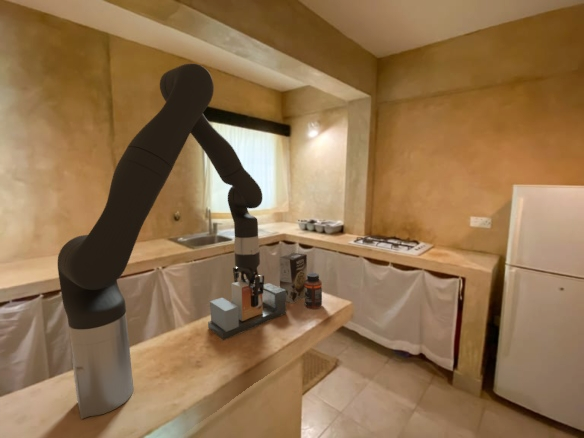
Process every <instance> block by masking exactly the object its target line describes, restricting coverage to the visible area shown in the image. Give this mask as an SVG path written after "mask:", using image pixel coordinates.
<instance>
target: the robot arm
mask: <svg viewBox="0 0 584 438" xmlns="http://www.w3.org/2000/svg"><path fill="white" fill-rule="evenodd" d="M159 90H160V94H161V96H162V98H163V100H164V101H165V103H164V105H163V106H162V108H161V109H159V111H158V112H157V114H156V115H155V116H154V117H153V118H151V120H150V121H148V123H146V124H145V125H144V126H143V128H142V129H140V130H139V132H138V133H136V135H135V136H134V137H133V138H132V140H130V142H129V144H128V145H127V146H126V149H125V150H124V152H123V154H122V156H121V157H120V159H119V160H118V163H117V164H116V167H115V169H114V172H113V174H112V178H111V183H110V187H109V193H108V197H107V201H106V203H105V206H104V208H103V211H102V212H101V214H100V216H99V218H98V220H96V222H95V224H94V226H93V227H92V228H91V230H90V231H89V232H88V234H83V235H79V236H76V237H73V238H72V239H70V240H68V241H67V242H66V243H65V244H64V245H63V246H62V247H61V248H60V250H59V253H58V256H57V272H58V281H59V286H60V292H61V298H62V299H61V300H62V305H63V308H64V312H65V313H66V316H67V323H68V331H69V338H70V344H71V353H72V359H71V362H72V368H73V377H74V384H75V393H76V400H77V401H78V402H77V406H78V411H79V416H80V420H83V419H86V418H88V417H94V416H95V417H96V416H99V415H103V414H107V413H109V412H111V411H113V410H116V409H117V408H120V406H122V405H123V404H124V403H126V402H127V401H128V400H129V399H130V398H131V396H132V395H133V392H134V378H133V370H132V369H133V368H132V361H131V359H132V358H131V349H130V341H129V328H128V319H127V310H126V308H127V307H126V300H125V298H124V296H123V294H122V292H121V290H120V288H119V284H118V280H119V279H120V277H121V276H122V275H123V273H124V272H125V270H126V268H127V266H128V263H129V261H130V258H131V257H132V256H131V255H132V253H133V250H134V247H135V246H136V242H137V240H138V237H139V235H140V232H141V229H142V227H143V226H144V223H145V221H146V219H147V217H148V216H149V215H150V211H151V210H152V208H153V206H154V204H155V203H156V201H157V198H158V196H159V194H161V193H160V192H161V191H162V189H163V188H164V186H165V184H166V182H167V181H168V178H169V176H170V174H171V172H172V171H173V169H174V166H175V164H176V162H177V159H178V158H179V156H180V154H181V151H182V150H183V148H184V146H185V144H186V142H187V140H188V138H189V136H190V134H191V135H192V137H193V138H194V140H196V142H197V143H198V145H199V146H200V147H201V149H202V150H203V152H204V153H205V155H206V156H207V157H208V159H209V161H210V162H211V164H212V166H213V168H214V169H215V172H217V174H218V176H219V178H220V179H221V181H222V182H223V183H224V184H226V185H228V186H231V187H230V188H229V190H228V193H227V204H228V208H229V211H230V214H231V218H232V220H233V224H234V225H233V226H234V227H233V228H234V229H233V230H234V243H233V246H234V247H233V248H234V249H233V251H234V265H235V267H233V268H232V273H233V280H234V282H233V283H235V282H241V281H243V282H245V283H247V285H248V286H249V288H250V292H251V306H252V307H256V306H258V304H259V302H258V301H259V299H258V295H259V294H262V293H263V289H264V284H265V275H264V274H259V271H258V267H259V266H260V263H261V259H260V254H261V253H260V238H259V224H258V222H259V221H258V218H257V217H255V216H254V215H251V214H250V212H249V210H248V209H256V208H258V207H259V206H260V205H261V204H262V202H263V191H262V188H261V186H259V183H258V182H257V181H256V180H255V179H254V178H253V177H252V175H250V173H249V172H248V171H247V170H246V169H245V168H244V166H243V164H242V162H241V159H240V158H239V156H238V155H237V152H236V150H235V149H234V147H233V146H232V145H231V144H230V142H228V140H227V139H226V138H225V137H224V136H223V135H222V134H221V133H219V131H217V130H216V128H215V127H213V125H212V124H211V122H209V120H208V119H207V118H206V116H205V115H204V112H205V111H206V109H207V108H208V106H209V105H210V103H211V101H212V98H213V96H214V90H215V89H214V80H213V78H212V75H211V73H210V71H208V69H207V68H205V67H204V66H202V65H201V64H197V63H184V64H182V65H178V66H176V67H174V68H172V69H170V70H168V71H166V72H164V73H163V74H162V75H161V77H160V81H159ZM254 282H255V284H254V285H251V283H254ZM253 287H255V289H254V290H253ZM259 288H260V290H259Z"/></svg>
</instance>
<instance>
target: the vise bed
mask: <svg viewBox="0 0 584 438" xmlns="http://www.w3.org/2000/svg"><path fill="white" fill-rule="evenodd" d="M262 300H263V313H262V314H259V315H257V316H254V317H251V318H249V319H246V320H244V321H241V320H239V319H238V320H239V327H237V328H234V329H232V330H229V331H227V332H226V331H225V330H223V329H222V328H221V327H219V326H218V325H217V324H215V323H214V322H213V321H211V320H209V321H208V322H207V323H208V324H207V325H208V329H209V330H210V331H211V332H213V333H214V334H215V336H218V337H219V338H220V339H221V340H222V341H225V340H227V339H229V338H232V337H234V336H237V335H239V334H241V333H244V332H246V331H248V330H250V329H253V328H255V327H258V326H260V325H263V324H264V323H267V322H269V321H271V320H273V319H276V318H279V317H281V316H283V315H285V314H287V301H286V290H285V289H282V288H280V286H277V285H275V284H272V283H269V282H268V283H264V289H263V293H262Z"/></svg>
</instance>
